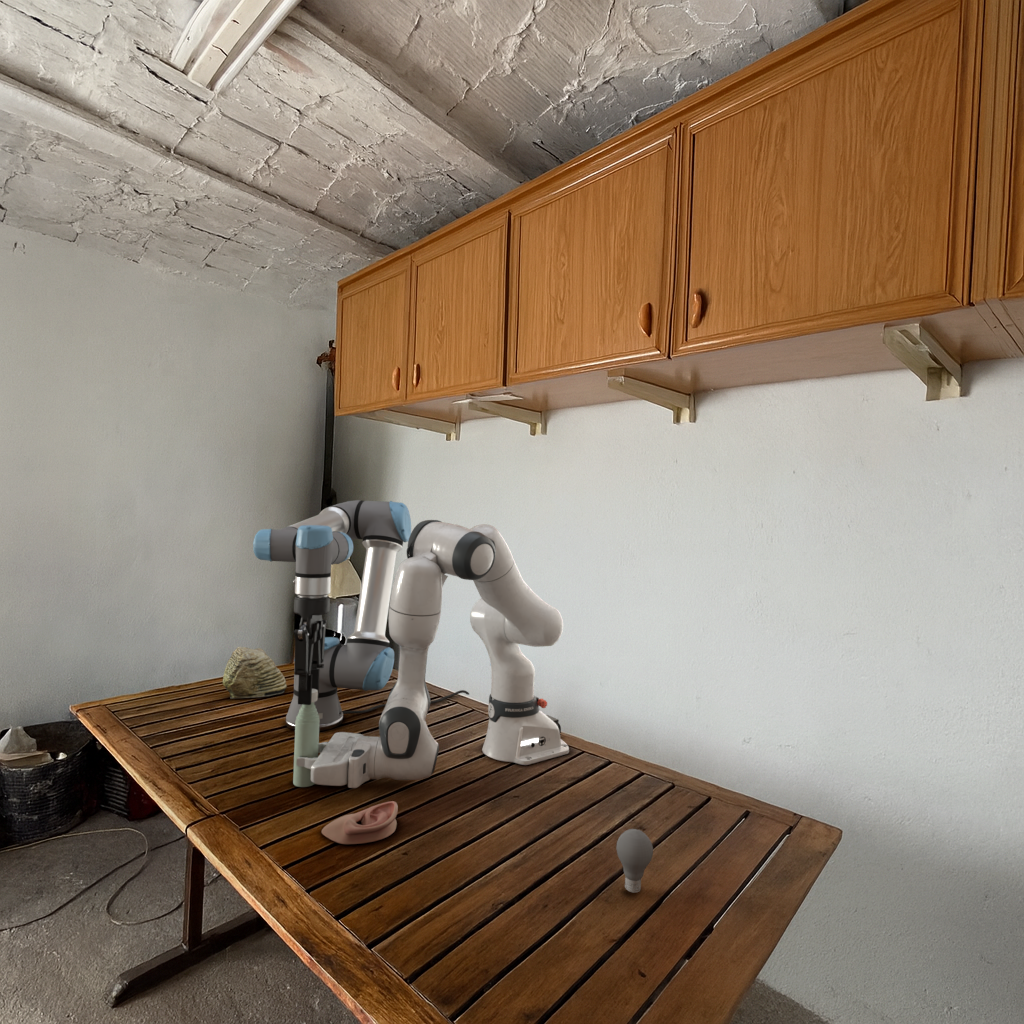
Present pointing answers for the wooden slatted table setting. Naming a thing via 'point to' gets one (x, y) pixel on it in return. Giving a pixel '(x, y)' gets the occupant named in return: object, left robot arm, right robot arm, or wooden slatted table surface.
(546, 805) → the wooden slatted table surface
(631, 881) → the light bulb
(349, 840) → the anatomical model
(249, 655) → the fossil
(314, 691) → the cap
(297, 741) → the bottle
